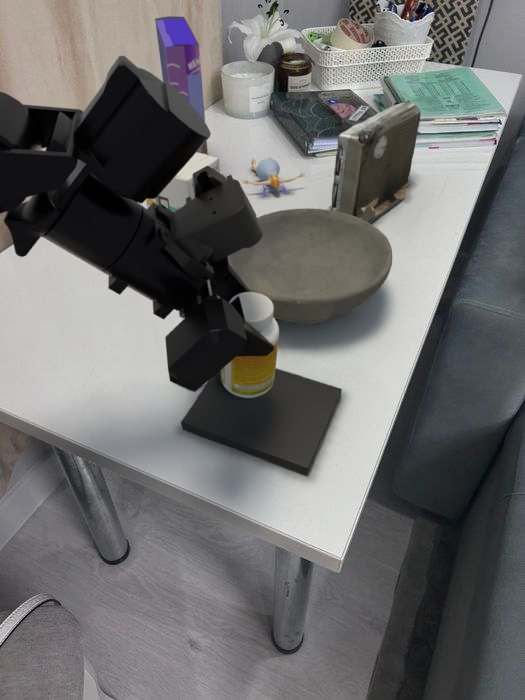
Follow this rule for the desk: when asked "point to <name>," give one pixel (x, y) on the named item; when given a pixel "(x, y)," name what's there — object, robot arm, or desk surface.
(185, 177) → the ink box
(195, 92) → the cereal box
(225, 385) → the supplement bottle
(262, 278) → the bowl
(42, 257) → the desk surface
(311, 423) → the scale
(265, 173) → the fairy figurine
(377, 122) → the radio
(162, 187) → the robot arm
